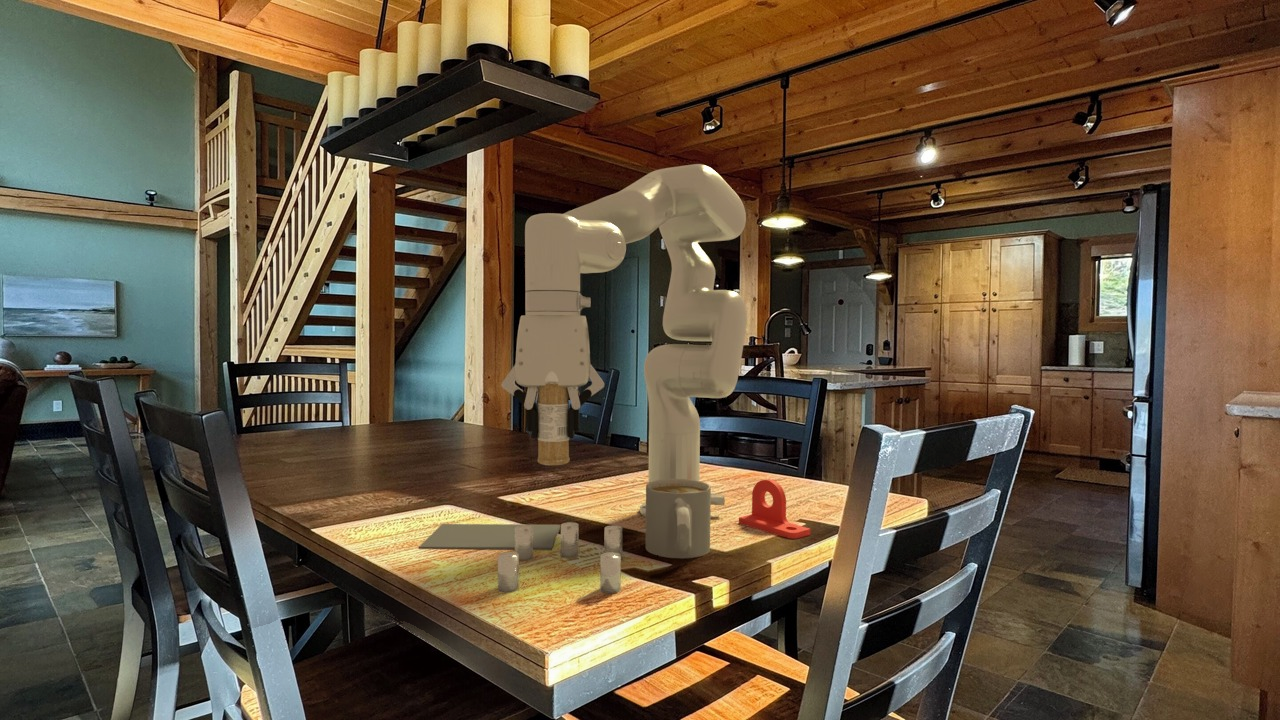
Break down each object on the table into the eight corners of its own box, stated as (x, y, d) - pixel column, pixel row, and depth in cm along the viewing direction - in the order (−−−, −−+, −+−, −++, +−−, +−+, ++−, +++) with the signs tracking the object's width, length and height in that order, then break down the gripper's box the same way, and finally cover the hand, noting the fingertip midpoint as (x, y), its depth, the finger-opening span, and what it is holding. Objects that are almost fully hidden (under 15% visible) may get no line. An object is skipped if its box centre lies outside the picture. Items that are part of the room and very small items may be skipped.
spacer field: (622, 555, 98) (622, 522, 98) (620, 598, 82) (620, 559, 82) (518, 555, 98) (518, 522, 98) (495, 598, 82) (495, 558, 82)
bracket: (738, 523, 116) (739, 479, 116) (755, 519, 119) (756, 476, 119) (793, 540, 107) (794, 492, 106) (810, 535, 110) (811, 488, 109)
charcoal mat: (560, 529, 111) (560, 524, 111) (551, 552, 99) (551, 547, 99) (442, 528, 111) (442, 524, 111) (419, 552, 99) (419, 546, 99)
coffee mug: (650, 538, 107) (650, 477, 107) (711, 541, 105) (712, 480, 105) (637, 566, 94) (637, 497, 93) (706, 571, 92) (707, 500, 92)
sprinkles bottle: (559, 458, 95) (559, 365, 94) (575, 463, 91) (575, 367, 90) (531, 462, 92) (530, 366, 91) (546, 467, 88) (546, 368, 88)
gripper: (614, 306, 95) (614, 432, 95) (496, 306, 94) (497, 432, 95) (613, 304, 87) (613, 441, 88) (486, 304, 86) (487, 441, 87)
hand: (553, 435), depth 91 cm, fingers closed on sprinkles bottle, 4 cm apart
